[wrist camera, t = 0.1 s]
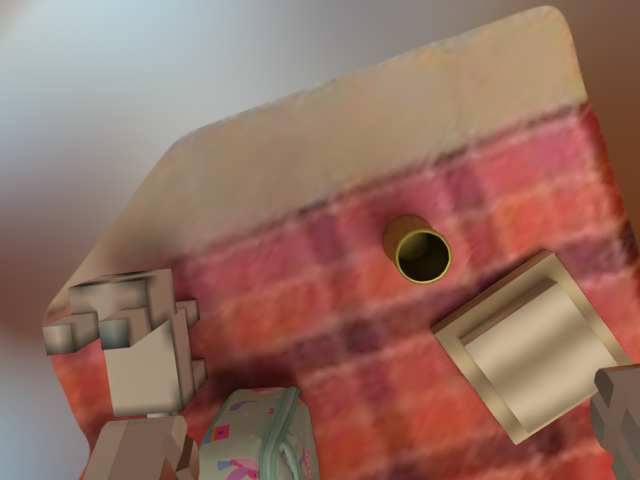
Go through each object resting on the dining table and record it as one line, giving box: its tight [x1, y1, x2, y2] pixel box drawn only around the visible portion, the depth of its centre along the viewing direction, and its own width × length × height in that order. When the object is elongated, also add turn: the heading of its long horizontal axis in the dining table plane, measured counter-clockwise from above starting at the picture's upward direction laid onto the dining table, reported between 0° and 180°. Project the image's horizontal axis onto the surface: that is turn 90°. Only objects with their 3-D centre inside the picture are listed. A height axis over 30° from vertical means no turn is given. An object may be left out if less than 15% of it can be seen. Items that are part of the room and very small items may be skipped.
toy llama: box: [43, 268, 208, 418], centre depth 58 cm, size 8×18×20 cm, turn 6°
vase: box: [383, 215, 452, 284], centre depth 57 cm, size 6×6×14 cm
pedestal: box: [431, 249, 633, 445], centre depth 62 cm, size 16×16×6 cm
